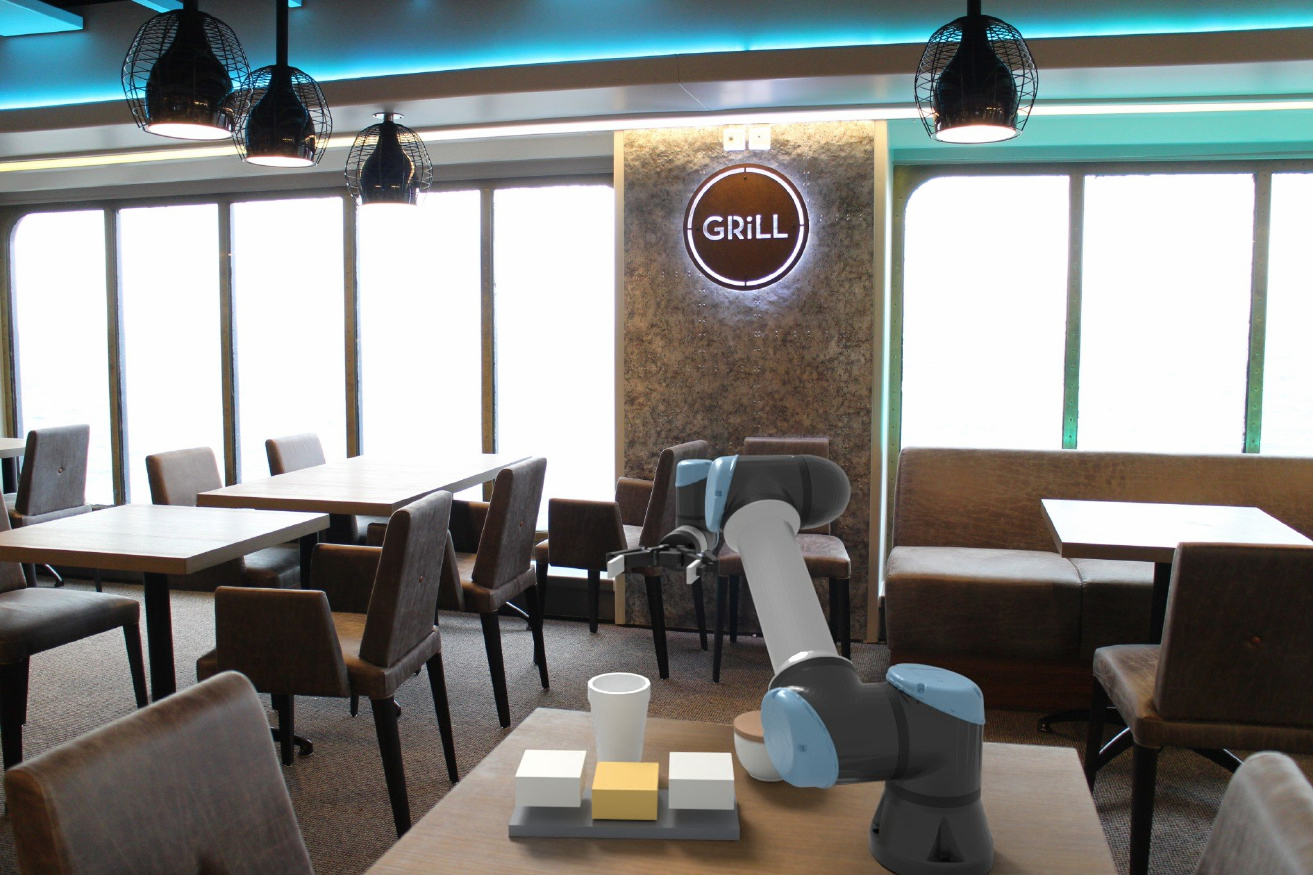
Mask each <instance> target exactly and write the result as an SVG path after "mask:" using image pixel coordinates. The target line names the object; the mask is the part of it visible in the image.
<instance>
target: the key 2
mask: <svg viewBox="0 0 1313 875" xmlns="http://www.w3.org/2000/svg"><path fill="white" fill-rule="evenodd" d="M668 762H669V763H668V764H669V766H668V790H669V809H727V810H734V791H735V775H734V767H733V757H732V753H731V752H698V751H697V752H693V751H687V752H686V751H683V752H682V751H669V761H668Z"/></svg>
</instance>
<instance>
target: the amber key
mask: <svg viewBox="0 0 1313 875" xmlns="http://www.w3.org/2000/svg"><path fill="white" fill-rule="evenodd" d="M596 763H597V764H596V768H595V772H594V778H593V783H592V785H591V786H592V787H591V788H592V819H638V820H657V808H658V791H659V781H660V780H659V776H660V775H659V774H660V773H659V772H660V771H659V768H660V767H659V762H645V761H644V762H642V761H641V762H598V761H597V762H596Z"/></svg>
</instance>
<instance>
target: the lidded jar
mask: <svg viewBox="0 0 1313 875" xmlns="http://www.w3.org/2000/svg"><path fill="white" fill-rule="evenodd" d="M732 728H733V732H734V733H733V737H734V738H733V740H734V748H735V752H736V756H737V759H738V761H739V763H740V764H741V766H742V767H743V768H744V769H745V771H747V772H748V775H749V777H751V778H753V779H755V780H758V781H761V782H766V783H767V782H770V783H771V782H772V783H773V782H780V781H785V780H784V779H783V778H782V777H781V776H780V775H779V774H778V772H777V771H776V769H775V767H774V766H773V764H772V762H771V759H770V757H769V754H768V752H767V749H766V745H765V742H764V737H763V733H764V729H763V727H762V724H761V709H757V710H751V711H747V712H744V713H741V714H739V715H738V716H736V717H735V719H733V727H732Z"/></svg>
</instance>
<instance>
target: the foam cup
mask: <svg viewBox="0 0 1313 875" xmlns="http://www.w3.org/2000/svg"><path fill="white" fill-rule="evenodd" d="M587 700H588V702H589V704H590V712H591V720H592V726H593V727H592V728H593V735H594V742H595V749H596V758H597V762H642V756H643V754H642V753H643V749H644V748H643V746H644V740H645V732H646V724H647V718H648V717H647V716H648V710H649V703H650V700H651V682H650V680H649V678H647V677H645V676H643V675H640V674H636V673H632V672H611V673H610V672H609V673H602V674H599V675H596V676H593V677H591V678H590V679H589V680H588V681H587Z"/></svg>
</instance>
